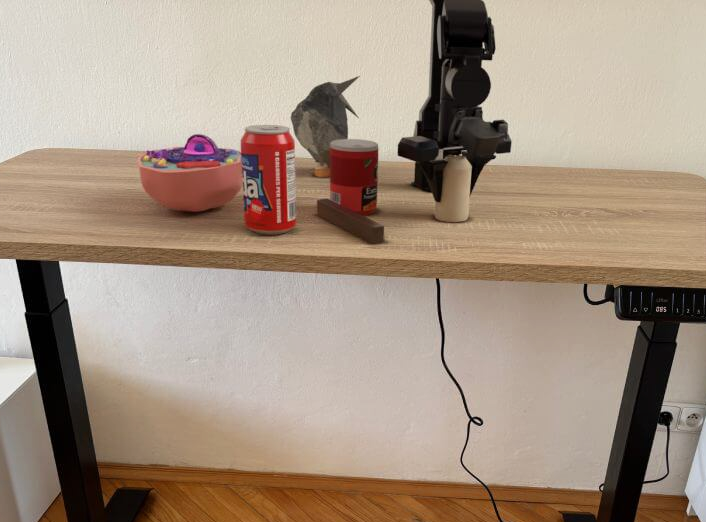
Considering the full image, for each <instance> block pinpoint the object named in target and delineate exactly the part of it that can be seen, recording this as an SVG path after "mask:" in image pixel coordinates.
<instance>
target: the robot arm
mask: <svg viewBox="0 0 706 522" xmlns="http://www.w3.org/2000/svg"><path fill="white" fill-rule="evenodd" d="M428 1H429V3H430V5H431V28H430V53H429V71H428V73H429V76H428V95H427V98H426V100H424V103H423V104H422V106H421V108H420V109H419V111H418V120H415V124H414V131H413V135H412V136H404V137H401V139H400V140H399V141H398V144H397V157H401V158H403V159H407V160H409V161H412V162H414V174H413V175H414V177H413V181H411V182H410V185H411V186H414V187H417V188H420V189H422V190H423V191H424V190H425V191H427V192H431V194H432V197H433V200H434V201H436V202H440V201H441V195H442V182H443V170H444V168H445V167H446V165H447V164H448V161H445V160H443V159H444V158H445V157H446V156H448V155H450V154H451V155H454V156H458V155H461V156H465V157H466V159H467V160H468V162H469V163H470V164H471V166H472V171H471V184H470V197H471V195H472V193H473V192H474V188H475V187H476V183H477V181H478V180H479V178H480V177H479V176H480V174H481V172H482V171H483V169H484V167H485V166H486V165H487V164H488V163H489V162H491V161H492V160H495V159H496V158H497V155H500V154H501V155H502V154H511V152H512V145H513V142H512V139H511V137H510V135H509V123H508V122H507V121H506V120H505V119H495V120H492V121H486V120H484V117H483V113H484V111H483V107H482V106H480V105H482V104H483V103H484V102H486V100H487V99H488V97H489V95H490V92H491V89H492V83H491V82H492V81H491V78H490V75H489V73H488V72H487V71H486V69H485V68H483V66H482V64H483V61H490V62H491V61H493V59H494V58H493V57H494V56H493V55H495V53H496V50H497V49H496V36H495V26H494V25H493V23H492V18H491V17H490V16H489V15H488V9H487V7H486V3H485V1H484V0H428ZM496 154H497V155H496ZM470 197H469V199H470Z"/></svg>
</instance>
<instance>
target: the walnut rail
mask: <svg viewBox="0 0 706 522" xmlns="http://www.w3.org/2000/svg"><path fill="white" fill-rule="evenodd" d="M316 215H317V216H319V217H320V218H323V219H324V220H326V221H328V222H330V223H332V224H334V225H335V226H337V227H340V228H342V229H343V230H345V231H347V232H349V233H350V234H353V235H355V236H357V237H359V238H361V239H363V240H365V241H366V242H368V243H370V244H372V245H374V244H381V243H384V242H385V225H383V224H381V223H380V222H377V221H375V220H373V219H371V218H369V217H367V216H366V215H364V216H363V215H361V214H359V213H357V212H354V211H352V210H350V209H348V208H346V207H344V206H342V205H340V204H338V203H336V202H334V201H332V200H330V198H321V199H317V200H316Z"/></svg>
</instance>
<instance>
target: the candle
mask: <svg viewBox="0 0 706 522" xmlns="http://www.w3.org/2000/svg"><path fill="white" fill-rule="evenodd" d="M443 160H445V161H448V164H447V165H446V167H445V168H444V170H443V182H442V195H441V201H440V202H436V201H435V200H434V201H435V202H434V203H435V204H434V217H435V219H437V220H438V221H441V222H446V223H448V222H449V223H459V222H460V223H461V222H464V221H467V220H468V218H469V210H470V209H469V208H470V198H469V197H471V195H470V184H471V171H472V166H471V164H470V163H469V162H468V160H467V159H466V157H465V156H462V154H461V155H458V156H454V155H451V154H450V155H448V156H446V157H445V158H444V159H443Z"/></svg>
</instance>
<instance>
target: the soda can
mask: <svg viewBox="0 0 706 522" xmlns="http://www.w3.org/2000/svg"><path fill="white" fill-rule="evenodd" d="M295 142H296V141H295V139H294V137H293V136H292V133H290V127H288V126H284V125H279V124H278V125H276V124H255V125H247V126H246V127H244V133H243V135H242V136H241V138H240V152H241V162H242V199H243V218H244V225H245V227H246V228H247V229H249V230H251V231H252V232H254V233H256V234H259V235H266V236H275V235H283V234H286V233H288V232H289V231H291V230H292V229H294V228H295V227H296V226H297V192H296V191H297V190H296V189H297V188H296V186H297V185H296V144H295Z"/></svg>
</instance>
